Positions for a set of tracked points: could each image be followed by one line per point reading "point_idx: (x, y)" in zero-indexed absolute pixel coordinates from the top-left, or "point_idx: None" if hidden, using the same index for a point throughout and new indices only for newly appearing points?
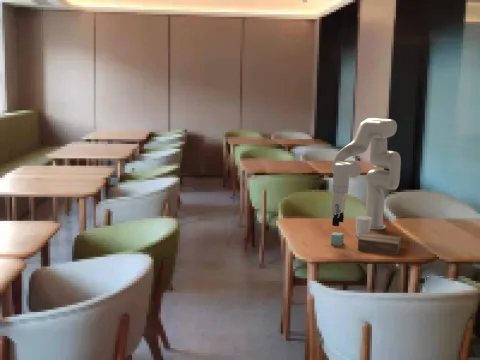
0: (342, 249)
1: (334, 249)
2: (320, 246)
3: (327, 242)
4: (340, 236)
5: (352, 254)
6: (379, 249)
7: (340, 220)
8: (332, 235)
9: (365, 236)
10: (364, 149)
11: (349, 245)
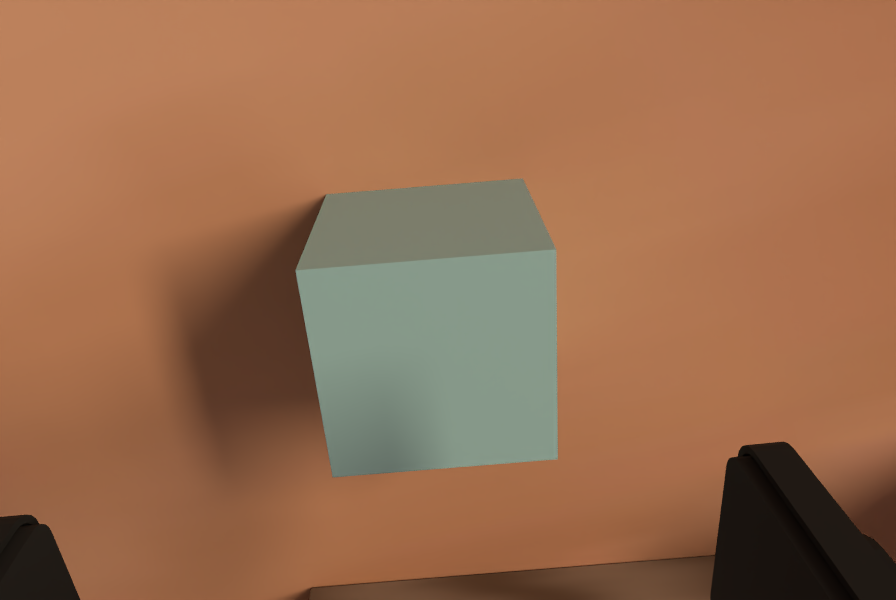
0: (162, 435)
1: (67, 339)
2: (48, 63)
3: (415, 96)
4: (333, 445)
5: None
6: None
7: (741, 591)
8: (305, 286)
9: None
10: None
11: None
